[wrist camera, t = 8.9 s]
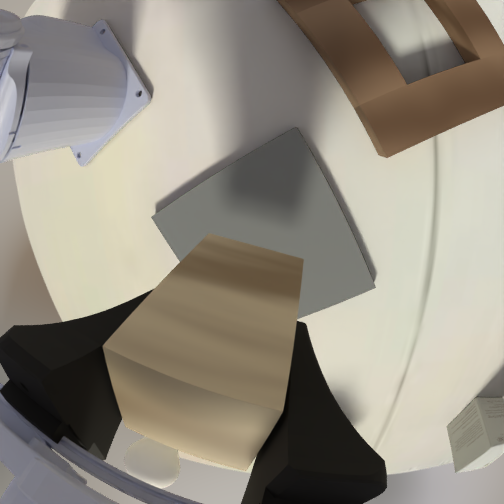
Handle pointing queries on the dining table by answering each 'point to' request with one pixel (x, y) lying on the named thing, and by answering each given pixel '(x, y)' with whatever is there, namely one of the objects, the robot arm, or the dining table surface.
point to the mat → (275, 219)
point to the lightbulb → (152, 462)
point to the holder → (390, 79)
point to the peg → (210, 351)
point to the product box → (477, 434)
